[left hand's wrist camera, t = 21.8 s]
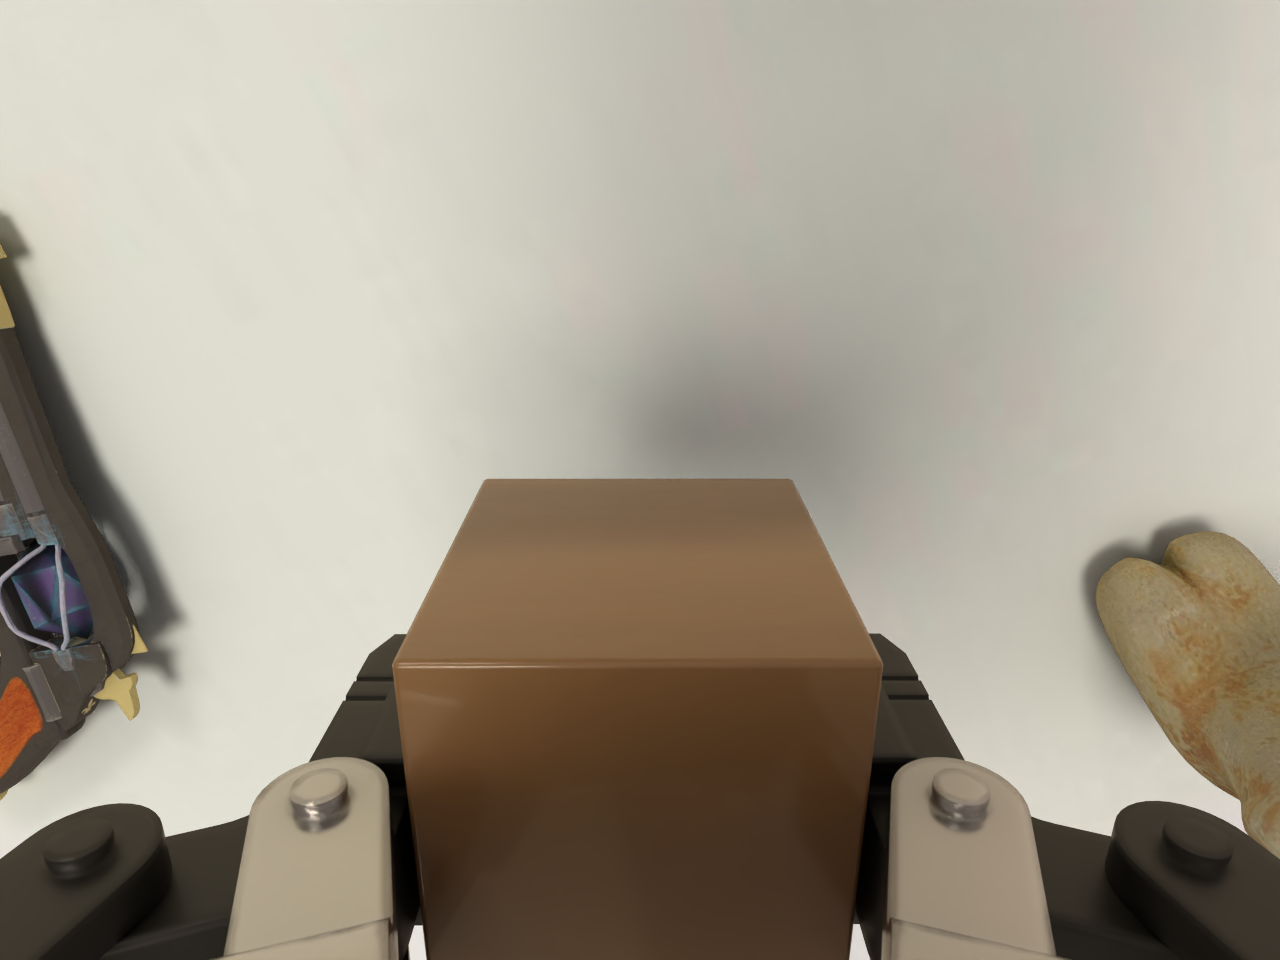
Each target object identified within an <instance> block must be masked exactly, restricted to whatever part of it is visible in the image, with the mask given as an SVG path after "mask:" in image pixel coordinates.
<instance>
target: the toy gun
mask: <svg viewBox="0 0 1280 960" xmlns="http://www.w3.org/2000/svg"><path fill="white" fill-rule="evenodd" d="M6 257H7V256H6V254H5V252H4V250H3V248H2V246H1V245H0V259H2V258H6ZM14 326H15V324H14V321H13V318H12V315H11V312H10V309H9V307H8V304H7V301H6V299H5V296H4V294H3V291H2V288H1V286H0V654H1V657H0V800H1V799H2V798H3V797H4V796H5V795H6V793H7V791H8V789H9V788H11V787H12V786H14V785H16V784H17V783H18V782H19V781H21V780H22V779H23V778H25V777H26V776H27V775H28V774H29V773H31V772H32V771H33V770H34V769H35V768H36V767H37V766H38V765H39V764H40V763H41V762H42V761H43V760H44V758H45V757H46V756H47V755H48V754H49V753H50V752H51V750H52V749H53V748H54V747H55V746H56V744H57V743H58V742H59V741H60V740H63V739H67V738H68V737H70V736H71V735H72V734H74V733H75V732H76V731H78V730H79V729H80V728H81V727H82V726H83V724H84V722H85V717H86V716H88V715H89V714H90V713H92V712H93V711H94V710H95V708H96V706H97V704H98V702H99V699H111V700H114V701H116V702H117V703H118V705H119V706H120V708H121V709H122V711H123V712H124V713H125V715H126V716H127V718H128V719H129V720H130V721H131V720H132V719H133V718H134V717H136V715H137V714H138V713H139V709H140V704H139V699H138V695H137V690H136V684H137V681H138V676H137V674H136V673H132V674H129V675H125V674H124V673H123V672H122V671H121V670H120V669H121V668H122V667H124V665H125V664H126V663H127V662H128V661H129V660H130V658H131V657H132V656H133V654H135V653H142V652H147V651H148V649H147V647H146V646H145V644H144V642H143V640H142V638H141V637H140V635H139V631H138V626H137V622H136V619H135V616H134V613H133V610H132V608H131V605H130V603H129V600H128V598H127V595H126V592H125V590H124V587H123V585H122V582H121V580H120V577H119V574H118V572H117V569H116V567H115V564H114V562H113V559H112V557H111V555H110V553H109V550H108V548H107V546H106V544H105V542H104V540H103V538H102V536H101V534H100V532H99V530H98V528H97V527H96V525H95V523H94V521H93V520H92V518H91V516H90V514H89V513H88V511H87V509H86V508H85V506H84V504H83V503H82V501H81V499H80V498H79V496H78V495H77V493H76V491H75V490H74V488H73V486H72V484H71V482H70V480H69V478H68V475H67V472H66V469H65V467H64V464H63V461H62V459H61V456H60V453H59V450H58V448H57V445H56V442H55V440H54V437H53V434H52V431H51V429H50V426H49V423H48V421H47V418H46V415H45V412H44V410H43V407H42V404H41V402H40V399H39V396H38V393H37V391H36V388H35V385H34V383H33V380H32V377H31V374H30V372H29V369H28V366H27V364H26V361H25V358H24V355H23V353H22V350H21V347H20V345H19V342H18V339H17V336H16V333H15V330H14ZM29 545H30V546H29ZM27 546H29V547H28V548H27V549H26V550H25V547H27ZM23 551H25V552H24V553H23V555H22V556H21V557H20V558H19V560H18V559H17V557H16V555H15V554H17V553H20V552H23ZM52 632H54V633H59V634H63V635H64V637H58V638H54V636H53V634H52Z"/></svg>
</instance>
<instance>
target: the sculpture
mask: <svg viewBox="0 0 1280 960" xmlns="http://www.w3.org/2000/svg"><path fill="white" fill-rule="evenodd" d="M1096 606H1097V609H1098V613H1099V616H1100V618H1101V621H1102V623H1103V626H1104V628H1105V631H1106V633H1107V635H1108V637H1109V639H1110V641H1111V643H1112V645H1113V647H1114V649H1115V651H1116V653H1117V655H1118V657H1119V658H1120V660H1121V662H1122V664H1123V666H1124V668H1125V669H1126V671H1127V673H1128V675H1129V676H1130V678H1131V679H1132V681H1133V683H1134V684H1135V686H1136V688H1137V689H1138V691H1139V693H1140V695H1141V696H1142V698H1143V699H1144V701H1145V702H1146V704H1147V706H1148V707H1149V709H1150V711H1151V712H1152V714H1153V716H1154V717H1155V719H1156V720H1157V722H1158V723H1159V725H1160V726H1161V728H1162V730H1163V731H1164V733H1165V734H1166V736H1167V737H1168V739H1169V740H1170V742H1171V743H1172V745H1173V746H1174V747H1175V748H1176V749H1177V750H1178V752H1179V753H1180V754H1181V755H1182V756H1183V758H1184V759H1185V760H1186V761H1187V762H1188V763H1189V764H1190V765H1191V766H1192V767H1193V768H1194V769H1195V770H1197V771H1198V772H1199V773H1200V774H1201V775H1202V776H1204V777H1205V778H1206V779H1207V780H1209V781H1210V782H1211V783H1213V784H1214V785H1215V786H1217V787H1218V788H1220V789H1222V790H1223V791H1225V792H1227V793H1228V794H1230V795H1232V796H1234V797H1235V798H1237V799H1239V800H1240V802H1241V812H1242V821H1243V825H1244V828H1245V831H1246V832H1247V834H1248V835H1249V836H1250V837H1251V838H1252V839H1254V840H1255V841H1256V842H1258V843H1259V844H1260V845H1262V846H1263V847H1264V848H1266V849H1267V850H1268V851H1270V852H1271V853H1272V854H1274V855H1275V856H1276V857H1278V858H1279V859H1280V586H1279V584H1278V583H1277V582H1276V580H1275V579H1274V578H1273V577H1272V575H1271V574H1270V573H1269V572H1268V570H1267V569H1266V568H1265V567H1264V565H1263V564H1262V563H1261V562H1260V561H1259V560H1258V559H1257V558H1256V557H1255V556H1254V555H1253V553H1252V552H1251V551H1250V550H1249V549H1247V548H1246V547H1245V546H1244V545H1243V544H1241V543H1240V542H1239V541H1237V540H1236V539H1235V538H1233V537H1230V536H1228V535H1225V534H1222V533H1218V532H1211V531H1205V532H1196V533H1191V534H1187V535H1183V536H1181V537H1178V538H1176V539H1174V540H1173V541H1171V542H1170V543H1169V545H1168V547H1167V549H1166V551H1165V553H1164V555H1163V560H1162V564H1161V565H1158V564H1156V563H1154V562H1151V561H1148V560H1143V559H1139V558H1124V559H1122V560H1120V561H1119V562H1118V563H1116V564H1115V565H1113V566H1112V567H1111V568H1110V569H1109V570H1107V571H1106V572H1105V573H1104V574H1103V575H1102V577H1101V578H1100V580H1099V583H1098V586H1097V591H1096Z"/></svg>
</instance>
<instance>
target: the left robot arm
mask: <svg viewBox="0 0 1280 960" xmlns="http://www.w3.org/2000/svg"><path fill="white" fill-rule="evenodd" d="M406 635H407V634H395V635H394V636H392V637H391V638H390V639H388V640H387V641H386V642H385V643H383V644H382V645H381V646H379V647H378V648H377V649H375V650H374V651H373V652H371V653H370V654H369V656H368V658H367V659H366V661H365V663H364V665H363V666H362V668H361V670H360V672H359V674H358V675H357V680H356V681H354V682H353V684H352V686H351V688H350V690H349V691H348V693H347V695H346V701H343V702H342V704H341V706H340V707H339V709H338V711H337V713H336V715H335V716H334V718H333V720H332V722H331V724H330V725H329V727H328V729H327V731H326V732H325V734H324V736H323V738H322V740H321V741H320V743H319V745H318V747H317V748H316V750H315V752H314V754H313V756H312V757H311V759H310V761H309V763H306V764H303V765H300V766H298V767H296V768H293V769H291V770H289V771H287V772H286V773H284V774H282V775H280V776H279V777H278V778H276V779H275V780H273V781H272V782H271V783H270V784H269V785H267V786H266V787H265V788H264V789H263V790H262V792H261V793H260V794H259V795H258V796H257V798H256V800H255V801H254V803H253V805H252V808H251V811H250V815H248V816H246V817H243V818H240V819H238V820H235V821H232V822H228V823H225V824H221V825H217V826H213V827H208V828H204V829H199V830H195V831H191V832H186V833H182V834H177V835H173V836H169V837H165V834H164V830H163V826H162V823H161V820H160V818H159V817H158V815H157V814H156V813H155V812H154V811H152V810H151V809H149V808H146V807H144V806H141V805H135V804H122V803H119V804H108V805H103V806H97V807H93V808H89V809H86V810H82V811H79V812H77V813H74V814H71V815H69V816H66V817H64V818H62V819H60V820H57V821H55V822H53V823H51V824H50V825H48V826H46V827H44V828H43V829H41V830H39V831H38V832H36V833H35V834H34V835H32V836H31V837H29V838H28V839H26V840H25V841H24V842H22V843H21V844H20V845H18V846H17V847H16V848H14V849H13V850H12V851H10V852H9V853H8V854H6V855H5V856H4V857H2V858H1V859H0V960H410V954H409V946H408V945H409V941H410V938H411V935H412V931H413V928H414V925H423V924H422V916H421V907H420V899H419V890H418V882H417V873H416V865H415V856H414V847H413V839H412V830H411V822H410V813H409V805H408V796H407V788H406V779H405V771H404V762H403V754H402V745H401V737H400V728H399V719H398V711H397V702H396V694H395V685H394V677H393V668H392V664H393V661H394V659H395V657H396V655H397V653H398V651H399V649H400V647H401V645H402V643H403V641H404V639H405V637H406ZM869 636H870V638H871V640H872V642H873V644H874V646H875V648H876V650H877V652H878V654H879V656H880V658H881V660H882V663H883V672H882V680H881V689H880V698H879V706H878V715H877V724H876V732H875V741H874V750H873V758H872V767H871V776H870V784H869V793H868V802H867V810H866V819H865V828H864V836H863V845H862V853H861V862H860V871H859V879H858V888H857V897H856V905H855V914H854V923H853V924H860V927H861V930H862V934H863V937H864V940H865V944H866V947H867V951H868V954H869V956H870V960H1280V859H1279V858H1278V857H1276V856H1275V855H1274V854H1272V853H1271V852H1270V851H1268V850H1267V849H1266V848H1264V847H1263V846H1262V845H1260V844H1259V843H1258V842H1256V841H1255V840H1254V839H1252V838H1251V837H1250V836H1248V835H1247V834H1245V833H1244V832H1242V831H1241V830H1240V829H1238V828H1237V827H1235V826H1233V825H1231V824H1230V823H1228V822H1226V821H1224V820H1222V819H1220V818H1218V817H1216V816H1214V815H1212V814H1210V813H1207V812H1204V811H1202V810H1199V809H1196V808H1193V807H1189V806H1186V805H1182V804H1177V803H1172V802H1163V801H1145V802H1139V803H1135V804H1132V805H1129V806H1127V807H1126V808H1124V809H1123V810H1121V812H1120V813H1119V814H1118V815H1117V817H1116V820H1115V823H1114V827H1113V832H1112V836H1106V835H1102V834H1097V833H1093V832H1089V831H1084V830H1080V829H1075V828H1071V827H1067V826H1062V825H1058V824H1053V823H1050V822H1046V821H1042V820H1039V819H1036V818H1034V817H1031V816H1030V811H1029V808H1028V805H1027V803H1026V802H1025V800H1024V798H1023V796H1022V795H1021V794H1020V793H1019V792H1018V790H1017V789H1016V788H1015V787H1014V786H1012V785H1011V784H1010V783H1009V782H1008V781H1007V780H1005V779H1004V778H1002V777H1001V776H1000V775H998V774H996V773H994V772H993V771H991V770H989V769H987V768H984V767H982V766H980V765H977V764H974V763H971V762H968V761H965V760H964V758H963V756H962V755H961V753H960V751H959V749H958V747H957V746H956V744H955V742H954V740H953V738H952V737H951V735H950V733H949V731H948V729H947V727H946V726H945V724H944V722H943V720H942V718H941V717H940V715H939V713H938V711H937V709H936V708H935V706H934V704H933V702H932V700H929V697H928V696H929V695H928V693H927V691H926V689H925V688H924V686H923V684H922V682H921V681H918V675H917V673H916V671H915V670H914V668H913V666H912V664H911V662H910V661H909V659H908V657H907V655H906V653H904V652H903V651H902V650H901V649H899V648H898V647H897V646H895V645H894V644H893V643H891V642H890V641H889V640H888V639H886V638H885V637H884V636H882V635H881V634H869Z"/></svg>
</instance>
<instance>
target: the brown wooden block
mask: <svg viewBox="0 0 1280 960" xmlns="http://www.w3.org/2000/svg"><path fill="white" fill-rule="evenodd" d="M392 668H393V677H394V685H395V694H396V702H397V711H398V719H399V728H400V737H401V745H402V754H403V762H404V771H405V779H406V788H407V796H408V805H409V813H410V822H411V830H412V839H413V847H414V856H415V865H416V873H417V882H418V890H419V899H420V907H421V916H422V924H423V933H424V941H425V950H426V958H427V960H849V957H850V949H851V940H852V931H853V923H854V914H855V905H856V897H857V888H858V879H859V871H860V862H861V853H862V845H863V836H864V828H865V819H866V810H867V802H868V793H869V784H870V776H871V767H872V758H873V750H874V741H875V732H876V724H877V715H878V706H879V698H880V689H881V680H882V672H883V663H882V660H881V658H880V656H879V654H878V652H877V650H876V648H875V646H874V644H873V642H872V640H871V638H870V636H869V634H868V632H867V630H866V628H865V626H864V624H863V622H862V620H861V618H860V616H859V614H858V612H857V609H856V607H855V605H854V603H853V601H852V599H851V597H850V595H849V593H848V591H847V589H846V587H845V585H844V583H843V581H842V579H841V577H840V575H839V573H838V571H837V569H836V567H835V565H834V563H833V561H832V559H831V557H830V555H829V553H828V551H827V549H826V547H825V545H824V543H823V541H822V539H821V537H820V535H819V533H818V531H817V529H816V527H815V525H814V523H813V521H812V519H811V517H810V515H809V513H808V511H807V509H806V507H805V505H804V503H803V501H802V499H801V497H800V495H799V493H798V491H797V489H796V487H795V485H794V483H793V481H792V480H790V479H486V480H484V482H483V483H482V485H481V487H480V489H479V491H478V493H477V495H476V497H475V499H474V501H473V503H472V505H471V507H470V509H469V511H468V513H467V515H466V517H465V519H464V521H463V523H462V525H461V527H460V529H459V531H458V533H457V535H456V537H455V539H454V541H453V543H452V545H451V547H450V549H449V551H448V553H447V555H446V557H445V559H444V561H443V563H442V565H441V567H440V569H439V571H438V573H437V575H436V577H435V579H434V581H433V583H432V585H431V587H430V589H429V591H428V593H427V595H426V597H425V599H424V601H423V603H422V605H421V607H420V609H419V611H418V613H417V615H416V617H415V619H414V621H413V623H412V625H411V627H410V629H409V631H408V633H407V635H406V637H405V639H404V641H403V643H402V645H401V647H400V649H399V651H398V653H397V655H396V657H395V659H394V661H393V664H392Z"/></svg>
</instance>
